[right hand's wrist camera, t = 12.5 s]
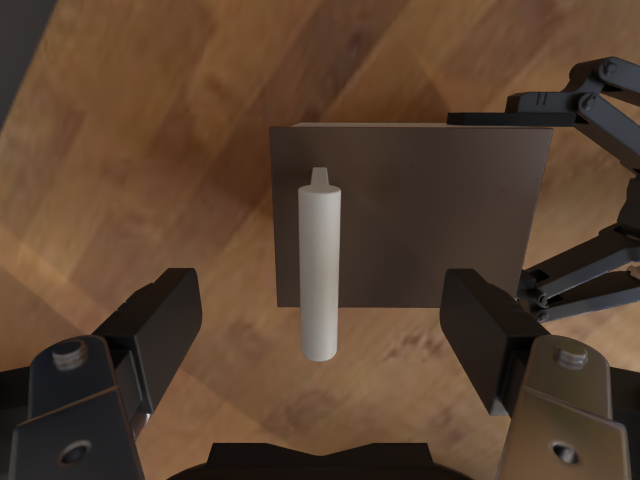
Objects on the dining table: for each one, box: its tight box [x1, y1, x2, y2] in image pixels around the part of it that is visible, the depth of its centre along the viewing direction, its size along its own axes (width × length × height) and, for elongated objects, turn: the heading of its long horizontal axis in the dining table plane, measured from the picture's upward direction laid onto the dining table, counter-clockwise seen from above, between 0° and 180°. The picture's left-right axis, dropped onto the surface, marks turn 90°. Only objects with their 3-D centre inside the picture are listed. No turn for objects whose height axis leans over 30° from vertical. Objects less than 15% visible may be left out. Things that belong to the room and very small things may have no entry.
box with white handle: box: [269, 126, 553, 361], centre depth 15 cm, size 14×10×8 cm
